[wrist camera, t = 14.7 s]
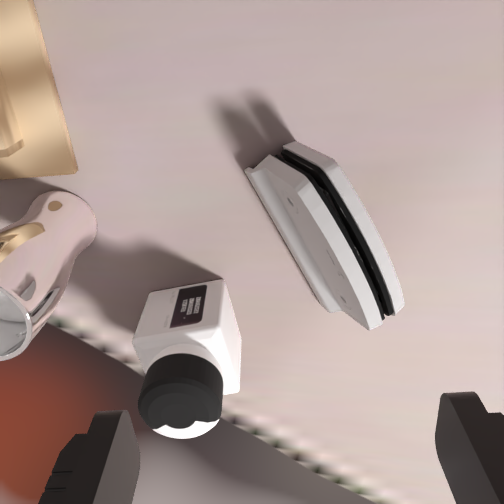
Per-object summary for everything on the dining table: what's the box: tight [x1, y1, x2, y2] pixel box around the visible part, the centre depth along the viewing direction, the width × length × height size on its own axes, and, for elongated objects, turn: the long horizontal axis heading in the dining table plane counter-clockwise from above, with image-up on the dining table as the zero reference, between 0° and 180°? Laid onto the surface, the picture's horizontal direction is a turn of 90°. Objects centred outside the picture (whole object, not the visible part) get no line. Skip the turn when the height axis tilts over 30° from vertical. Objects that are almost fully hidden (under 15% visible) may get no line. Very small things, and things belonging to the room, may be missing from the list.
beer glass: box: [0, 191, 97, 361], centre depth 36 cm, size 7×7×15 cm
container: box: [132, 279, 242, 439], centre depth 42 cm, size 8×8×13 cm
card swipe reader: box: [244, 141, 405, 330], centre depth 39 cm, size 17×5×10 cm, turn 29°
